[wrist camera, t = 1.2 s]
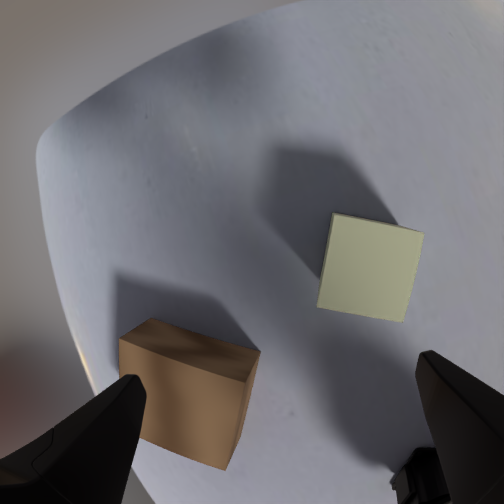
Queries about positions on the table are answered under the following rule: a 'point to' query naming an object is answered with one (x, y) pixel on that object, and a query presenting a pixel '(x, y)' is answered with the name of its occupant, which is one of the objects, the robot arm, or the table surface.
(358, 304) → the sage block
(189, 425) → the walnut block
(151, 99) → the table surface
